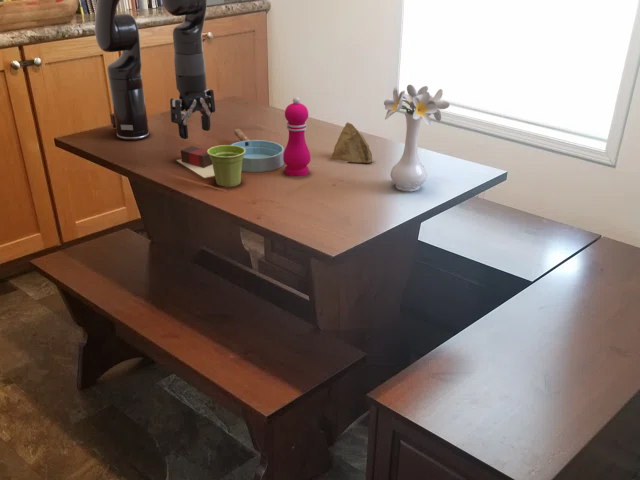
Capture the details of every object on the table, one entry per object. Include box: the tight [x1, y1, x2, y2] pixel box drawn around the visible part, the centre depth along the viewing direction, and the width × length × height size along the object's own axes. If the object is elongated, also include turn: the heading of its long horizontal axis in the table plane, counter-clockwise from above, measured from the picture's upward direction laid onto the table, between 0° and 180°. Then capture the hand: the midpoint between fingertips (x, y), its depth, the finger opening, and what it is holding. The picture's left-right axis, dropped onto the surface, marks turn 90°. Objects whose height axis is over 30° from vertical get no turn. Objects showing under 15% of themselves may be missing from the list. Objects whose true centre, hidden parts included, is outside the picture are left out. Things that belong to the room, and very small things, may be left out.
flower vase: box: [383, 84, 450, 193], centre depth 171 cm, size 13×18×25 cm
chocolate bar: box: [180, 145, 212, 168], centre depth 186 cm, size 8×4×3 cm, turn 57°
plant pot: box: [206, 144, 245, 188], centre depth 174 cm, size 9×9×9 cm
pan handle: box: [233, 128, 251, 146], centre depth 197 cm, size 12×2×2 cm, turn 22°
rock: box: [331, 122, 373, 164], centre depth 191 cm, size 11×9×10 cm
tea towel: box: [176, 158, 215, 179], centre depth 185 cm, size 16×9×1 cm, turn 37°
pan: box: [230, 139, 285, 173], centre depth 188 cm, size 15×16×4 cm
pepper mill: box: [283, 96, 311, 178], centre depth 178 cm, size 7×7×20 cm
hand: (195, 134), depth 183 cm, fingers open, 8 cm apart
